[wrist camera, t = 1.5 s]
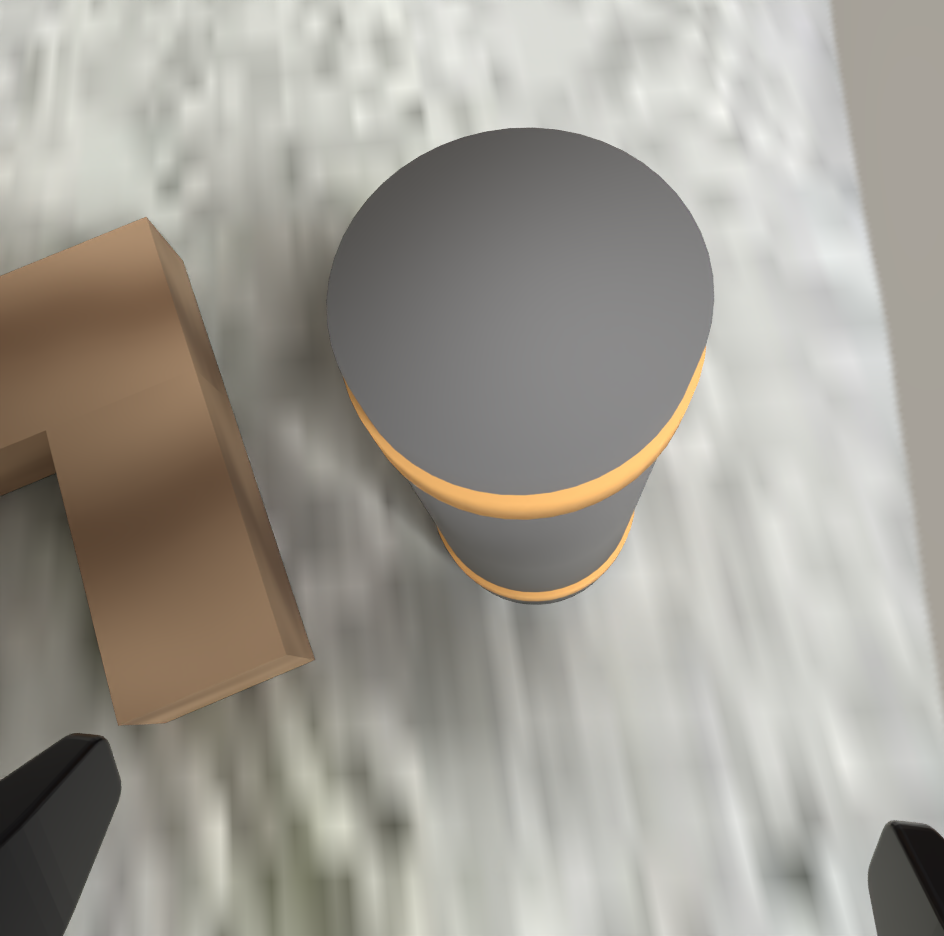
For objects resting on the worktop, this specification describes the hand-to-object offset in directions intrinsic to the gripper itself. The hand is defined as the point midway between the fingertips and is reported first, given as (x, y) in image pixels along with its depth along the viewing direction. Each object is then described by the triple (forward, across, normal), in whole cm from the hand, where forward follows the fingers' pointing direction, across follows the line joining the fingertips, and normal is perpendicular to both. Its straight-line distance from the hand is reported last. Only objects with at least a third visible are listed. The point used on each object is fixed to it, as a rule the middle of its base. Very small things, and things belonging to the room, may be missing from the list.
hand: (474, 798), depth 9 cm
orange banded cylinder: (+13, 0, +4) cm, 14 cm away
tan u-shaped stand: (+12, +16, +5) cm, 21 cm away
